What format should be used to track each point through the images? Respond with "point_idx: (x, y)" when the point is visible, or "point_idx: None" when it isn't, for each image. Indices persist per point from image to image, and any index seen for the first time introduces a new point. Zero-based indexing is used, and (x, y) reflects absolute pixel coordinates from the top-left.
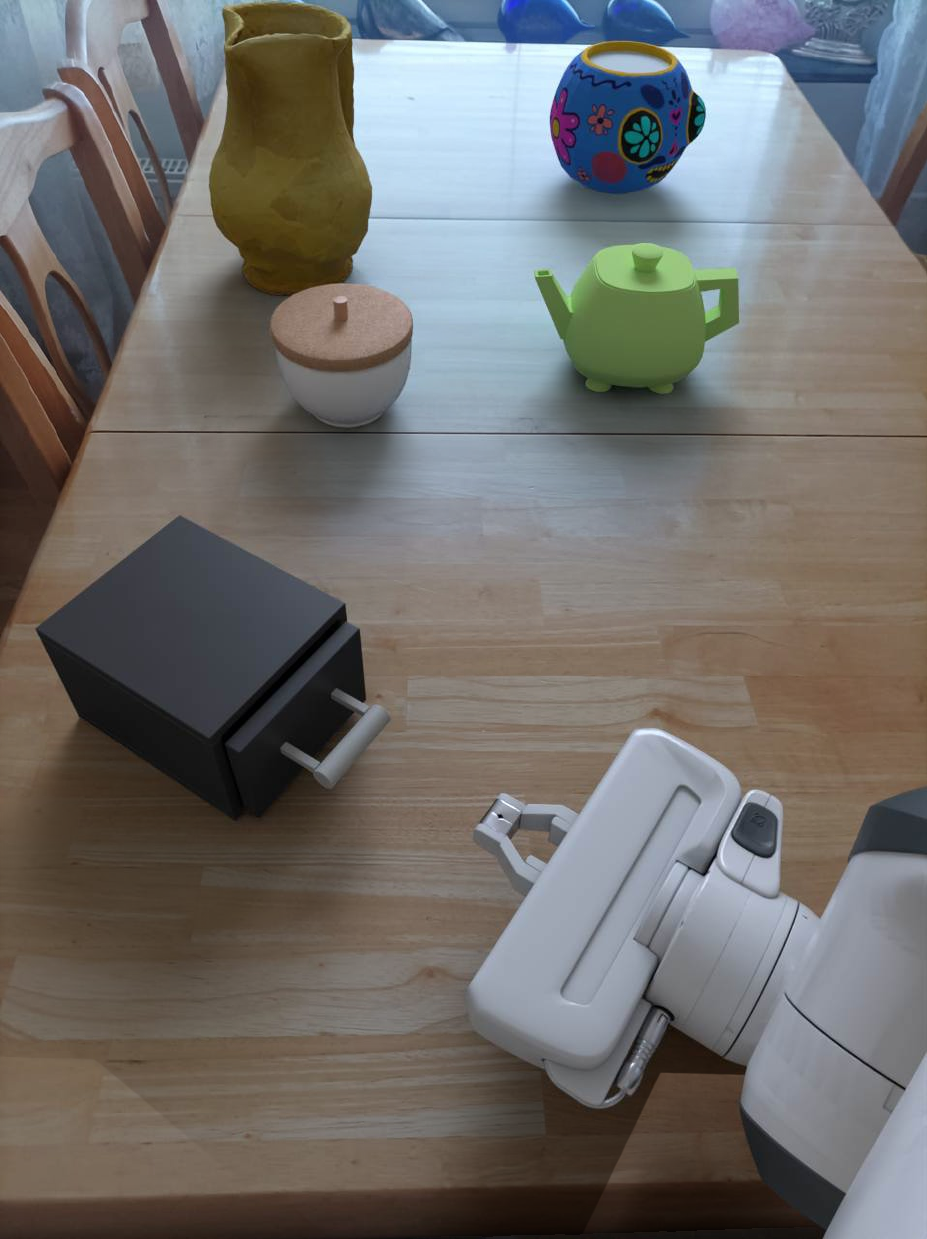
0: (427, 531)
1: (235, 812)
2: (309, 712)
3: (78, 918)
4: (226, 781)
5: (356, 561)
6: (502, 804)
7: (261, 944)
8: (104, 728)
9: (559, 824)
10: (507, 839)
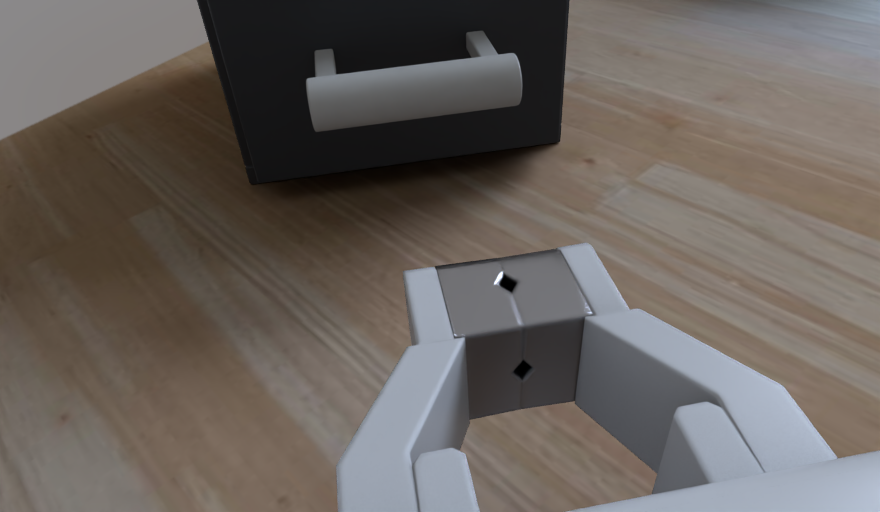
0: (851, 49)
1: (248, 163)
2: (403, 30)
3: (13, 176)
4: (224, 71)
5: (707, 44)
6: (549, 260)
7: (64, 325)
8: None
9: (705, 439)
10: (451, 349)
